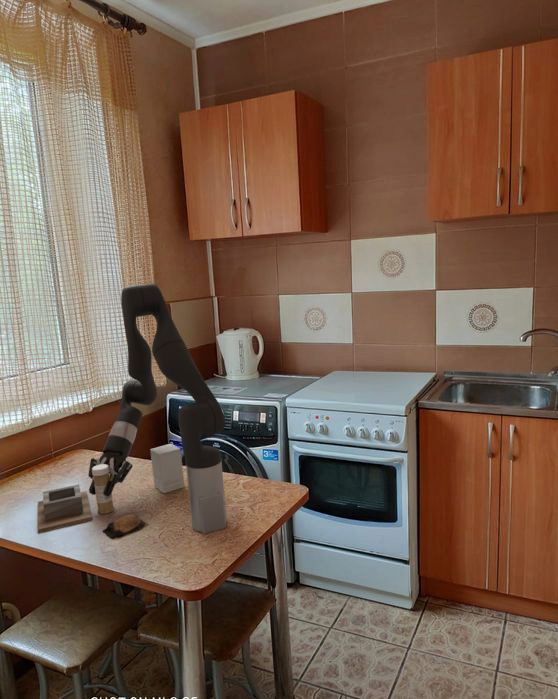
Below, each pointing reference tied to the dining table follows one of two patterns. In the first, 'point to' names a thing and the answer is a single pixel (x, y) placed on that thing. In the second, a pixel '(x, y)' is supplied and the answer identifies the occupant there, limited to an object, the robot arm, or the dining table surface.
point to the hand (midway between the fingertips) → (99, 494)
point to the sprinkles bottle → (102, 488)
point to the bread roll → (124, 526)
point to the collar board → (63, 508)
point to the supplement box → (167, 468)
